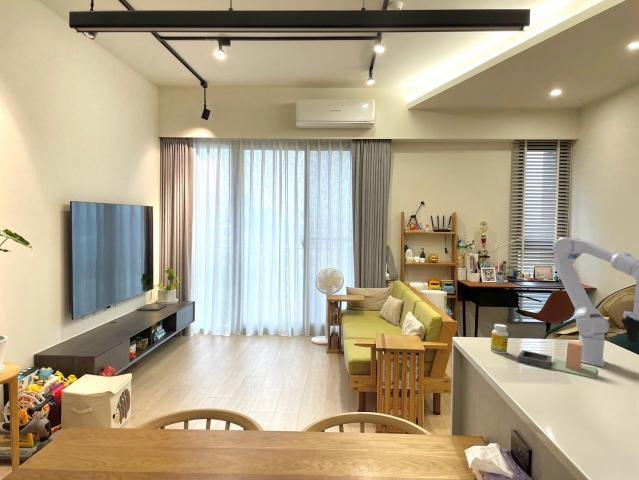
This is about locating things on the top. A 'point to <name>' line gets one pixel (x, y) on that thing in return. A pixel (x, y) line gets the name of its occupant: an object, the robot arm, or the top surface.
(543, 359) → the metal collar
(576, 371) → the rubber mat
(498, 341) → the supplement bottle
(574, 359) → the peg
